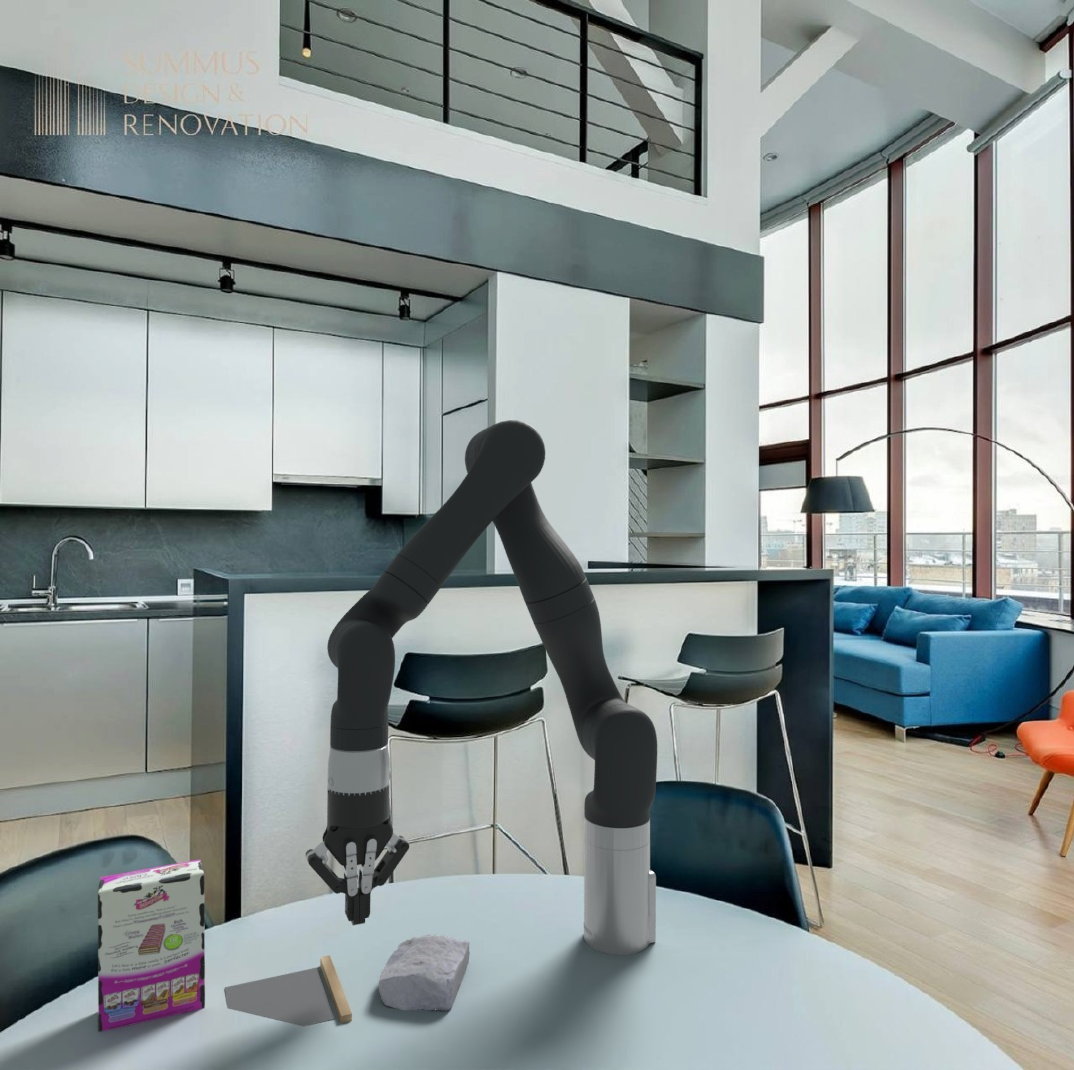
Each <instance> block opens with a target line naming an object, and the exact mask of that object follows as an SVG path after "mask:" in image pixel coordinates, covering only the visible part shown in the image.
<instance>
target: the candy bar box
mask: <svg viewBox="0 0 1074 1070" xmlns="http://www.w3.org/2000/svg"><path fill="white" fill-rule="evenodd" d="M205 921H206V920H205V873H204V868H203V866H202V860H201V859H195V860H189V861H183V862H177V863H172V864H165V865H160V866H156V867H149V868H144V869H137V870H134V871H133V870H132V871H128V872H121V873H117V874H110V875H106V876H105V875H103V876H100V877H99V884H98V889H97V933H98V934H97V964H98V965H97V969H98V970H97V973H98V974H97V977H98V978H97V979H98V980H97V985H98V986H97V993H98V994H97V1001H98V1008H97V1011H98V1015H97V1031H98V1032H104V1031H108V1030H113V1029H114V1030H115V1029H118V1028H122V1027H121V1026H123V1027H127V1026H131V1025H130V1024H132V1025H136V1024H140V1023H144V1022H150V1021H153V1020H157V1019H162V1018H167V1017H171V1016H176V1015H179V1014H185V1013H188V1012H195V1011H198V1010H202V1009H205V1008H206V968H205V967H206V963H205V961H206V960H205V959H206V956H205V955H206V953H205V952H206V951H205V950H206V949H205V948H206V947H205V945H206V944H205V936H206V935H205V923H206V922H205ZM126 1025H127V1026H126Z"/></svg>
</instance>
